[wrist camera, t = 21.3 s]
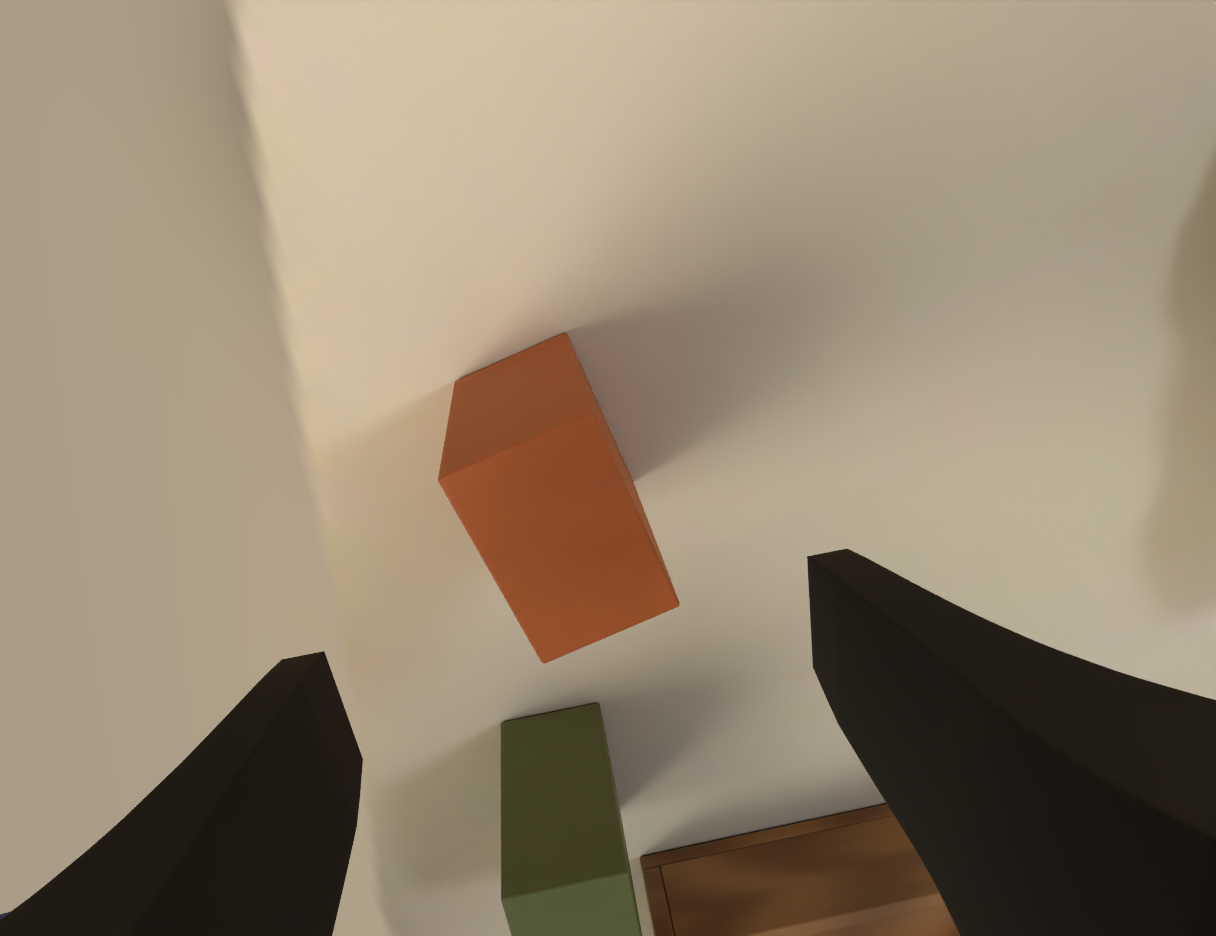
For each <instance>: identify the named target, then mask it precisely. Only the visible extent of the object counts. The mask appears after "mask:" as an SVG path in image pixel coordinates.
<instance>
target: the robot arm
mask: <svg viewBox="0 0 1216 936" xmlns="http://www.w3.org/2000/svg"><path fill="white" fill-rule="evenodd" d="M807 559H808V578H809V598H810V618H811V637H812V657H813V668H814V670H815V673H816V675H817V677H818V680H819V682H820V684H821V687H822V689H823V691H824V693H825V696H826V698H827V700H828V702H829V705H830V707H831V709H832V711H833V713H834V715H835V718H836V720H837V722H838V724H839V726H840V728H841V729H842V731H843V733H844V734H845V736H846V738H847V739H848V741H849V743H850V744H851V746H852V748H853V749H854V751H855V752H856V754H857V756H858V757H859V759H860V761H861V762H862V764H863V766H864V767H865V769H866V771H867V772H868V774H869V775H870V777H871V779H872V780H873V782H874V783H875V785H876V787H877V788H878V790H879V792H880V793H881V795H882V796H883V798H884V800H885V801H886V803H887V804H888V806H889V808H890V809H891V811H892V813H893V814H894V816H895V817H896V819H897V821H898V822H899V824H900V825H901V827H902V829H903V830H904V832H905V834H906V835H907V837H908V838H909V840H910V842H911V843H912V845H913V846H914V848H915V850H916V851H917V853H918V855H919V856H920V858H921V860H922V862H923V864H924V865H925V867H926V869H927V871H928V872H929V874H930V876H931V878H932V880H933V881H934V883H935V885H936V887H937V889H938V891H939V893H940V895H941V897H942V899H943V901H944V903H945V905H946V907H947V909H948V911H949V913H950V915H951V917H952V919H953V921H954V924H955V926H956V928H957V930H958V932H959V934H960V936H1216V700H1214V699H1209V698H1206V697H1202V696H1198V695H1195V694H1191V693H1188V692H1184V691H1181V690H1177V689H1174V688H1170V687H1167V686H1163V685H1160V684H1156V683H1153V682H1149V681H1146V680H1142V679H1139V678H1136V677H1133V676H1130V675H1127V674H1124V673H1121V672H1117V671H1114V670H1111V669H1108V668H1106V667H1103V666H1100V665H1097V664H1094V663H1092V662H1089V661H1086V660H1083V659H1081V658H1078V657H1075V656H1072V655H1070V654H1067V653H1064V652H1061V651H1059V650H1056V649H1053V648H1051V647H1048V646H1046V645H1043V644H1041V643H1038V642H1036V641H1034V640H1031V639H1029V638H1027V637H1024V636H1022V635H1020V634H1017V633H1015V632H1013V631H1011V630H1008V629H1006V628H1004V627H1002V626H999V625H997V624H995V623H993V622H990V621H988V620H986V619H984V618H982V617H980V616H978V615H976V614H973V613H971V612H969V611H967V610H965V609H963V608H961V607H959V606H957V605H955V604H953V603H951V602H949V601H947V600H945V599H943V598H941V597H939V596H937V595H935V594H933V593H931V592H929V591H927V590H926V589H924V588H922V587H920V586H918V585H916V584H914V583H912V582H910V581H909V580H907V579H905V578H903V577H901V576H899V575H897V574H895V573H894V572H892V571H890V570H888V569H886V568H884V567H882V566H880V565H879V564H877V563H875V562H873V561H871V560H869V559H867V558H865V557H863V556H861V555H859V554H857V553H855V552H853V551H851V550H849V549H843V550H838V551H833V552H828V553H823V554H818V555H813V556H807ZM362 762H363V758H362V756H361V753H360V750H359V747H358V744H357V742H356V739H355V736H354V733H353V731H352V728H351V725H350V722H349V719H348V717H347V714H346V711H345V708H344V705H343V703H342V700H341V697H340V694H339V691H338V689H337V686H336V683H335V680H334V678H333V675H332V672H331V669H330V666H329V664H328V661H327V658H326V655H325V652H319V653H313V654H308V655H303V656H298V657H293V658H288V659H283V660H281V661H280V662H279V663H278V664H277V665H276V666H275V667H274V668H272V669H271V670H270V671H269V672H268V673H267V674H266V675H265V676H264V677H263V678H262V679H261V680H260V681H259V682H258V683H257V685H255V687H254V688H253V689H252V690H251V691H250V692H249V693H248V694H247V695H246V696H245V697H244V698H243V699H242V700H241V701H240V702H239V704H238V705H236V707H235V708H234V709H233V710H232V711H231V712H230V713H229V714H228V715H227V716H226V717H225V718H224V719H223V720H222V721H221V722H220V723H219V724H218V725H217V727H216V728H215V729H214V730H213V731H212V732H211V733H210V734H209V735H208V736H207V737H206V738H205V739H204V740H203V741H202V742H201V743H200V744H199V745H198V746H197V747H196V749H194V750H193V751H192V753H191V754H190V755H189V756H188V757H187V758H186V759H185V760H184V761H183V762H182V763H181V764H180V765H179V766H178V767H177V768H175V769H174V770H173V771H172V773H170V774H169V775H168V776H167V777H166V778H165V779H164V780H163V781H162V782H161V783H160V784H159V785H158V786H157V787H156V788H155V789H154V790H153V791H152V792H150V794H148V795H147V797H145V798H144V799H143V800H142V801H141V802H140V803H139V804H138V805H137V806H136V807H135V808H134V809H133V810H132V811H131V812H130V813H129V814H128V815H127V816H126V817H125V818H123V819H122V820H121V821H120V822H119V823H118V824H117V825H116V826H115V827H114V828H112V829H111V830H110V831H109V832H108V833H107V834H106V835H105V836H103V837H102V838H101V839H100V840H99V841H98V842H97V843H96V844H94V845H93V846H92V847H91V848H90V849H89V850H87V851H86V852H85V853H84V854H83V855H81V856H80V857H79V858H78V859H77V860H75V861H74V862H73V863H72V864H71V865H69V866H68V867H67V868H66V869H64V870H63V871H62V872H61V873H60V874H58V875H57V876H56V877H55V878H54V879H52V880H51V881H50V882H49V883H48V884H47V885H45V886H44V887H43V888H41V889H40V890H39V891H38V892H36V893H35V894H34V895H33V896H31V897H30V898H29V899H27V900H26V901H25V902H23V903H22V904H21V905H19V906H18V907H17V908H15V909H14V910H13V911H11V912H10V913H9V914H7V915H6V916H5V917H3V918H2V919H0V936H332V933H333V929H334V924H335V920H336V916H337V912H338V907H339V903H340V899H341V894H342V890H343V886H344V881H345V877H346V873H347V868H348V864H349V859H350V855H351V850H352V846H353V841H354V836H355V831H356V827H357V818H358V809H359V799H360V788H361V775H362Z"/></svg>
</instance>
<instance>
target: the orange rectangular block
mask: <svg viewBox="0 0 1216 936" xmlns="http://www.w3.org/2000/svg"><path fill="white" fill-rule="evenodd" d="M438 481H439V483H440V485H441V486H442V488H443V490H444V492H445V493H446V495H447V497H448V499H449V500H450V502H451V504H452V506H453V507H454V509H455V511H456V513H457V514H458V516H459V518H460V520H461V522H462V523H463V525H464V527H465V529H466V530H467V532H468V534H469V536H470V537H471V539H472V541H473V543H474V544H475V546H476V548H477V550H478V551H479V553H480V555H481V557H482V558H483V560H484V562H485V564H486V565H487V567H488V569H489V571H490V572H491V574H492V576H493V578H494V579H495V581H496V583H497V585H498V587H499V588H500V590H501V592H502V594H503V595H504V597H505V599H506V601H507V602H508V604H509V606H510V608H511V609H512V611H513V613H514V615H515V616H516V618H517V620H518V622H519V623H520V625H521V627H522V629H523V630H524V632H525V634H526V636H527V637H528V639H529V641H530V643H531V645H532V646H533V648H534V650H535V652H536V653H537V655H538V657H539V659H540V660H541V662H542V663H547V662H549V661H552V660H554V659H556V658H559V657H561V656H563V655H566V654H568V653H570V652H573V651H575V650H577V649H580V648H582V647H584V646H587V645H589V644H592V643H594V642H596V641H599V640H601V639H603V638H606V637H608V636H610V635H613V634H615V633H617V632H620V631H622V630H624V629H627V628H629V627H631V626H634V625H636V624H639V623H641V622H643V621H646V620H648V619H650V618H653V617H655V616H657V615H660V614H662V613H664V612H667V611H669V610H671V609H674V608H676V607H678V606H679V600H678V598H677V595H676V593H675V590H674V587H673V585H672V582H671V579H670V577H669V574H668V572H667V569H666V566H665V564H664V561H663V559H662V556H661V553H660V551H659V548H658V545H657V543H656V540H655V538H654V535H653V532H652V530H651V527H650V525H649V522H648V519H647V517H646V514H645V512H644V509H643V506H642V504H641V501H640V498H639V496H638V493H637V491H636V488H635V485H634V483H633V480H632V478H631V476H630V474H629V472H628V469H627V467H626V465H625V463H624V460H623V458H622V456H621V454H620V451H619V449H618V447H617V445H616V442H615V440H614V438H613V436H612V434H611V431H610V429H609V427H608V425H607V422H606V420H605V418H604V416H603V413H602V411H601V409H600V407H599V405H598V402H597V400H596V398H595V396H594V393H593V391H592V389H591V387H590V384H589V382H588V380H587V378H586V375H585V373H584V371H583V369H582V367H581V364H580V362H579V360H578V358H577V355H576V353H575V351H574V349H573V346H572V344H571V342H570V340H569V338H568V335H567V334H566V333H562V334H560V335H558V336H556V337H553V338H551V339H549V340H547V341H544V342H542V343H540V344H538V345H535V346H533V347H531V348H529V349H526V350H524V351H522V352H520V353H517V354H515V355H513V356H511V357H508V358H506V359H504V360H502V361H499V362H497V363H495V364H493V365H490V366H488V367H486V368H484V369H481V370H479V371H477V372H475V373H472V374H470V375H468V376H466V377H463V378H461V379H459V380H457V381H455V384H454V390H453V396H452V402H451V408H450V413H449V419H448V425H447V431H446V437H445V443H444V448H443V454H442V460H441V466H440V472H439V478H438Z"/></svg>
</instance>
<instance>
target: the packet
mask: <svg viewBox="0 0 1216 936" xmlns="http://www.w3.org/2000/svg"><path fill="white" fill-rule="evenodd" d="M501 900H502V904H503V907H504V911H505V914H506V918H507V921H508V924H509V928H510V931H511V935H512V936H642V932H641V927H640V921H639V915H638V910H637V904H636V898H635V893H634V887H633V881H632V876H631V870H630V864H629V859H628V853H627V848H626V842H625V836H624V831H623V825H622V819H621V814H620V808H619V803H618V798H617V792H616V787H615V782H614V777H613V771H612V766H611V761H610V756H609V751H608V745H607V740H606V735H605V730H604V724H603V719H602V714H601V709H600V704H599V703H595V704H590V705H585V706H580V707H575V708H571V709H566V710H561V711H556V712H551V713H546V714H541V715H536V716H531V717H526V718H521V719H516V720H512V721H507V722H502V723H501Z"/></svg>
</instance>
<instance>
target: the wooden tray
mask: <svg viewBox="0 0 1216 936" xmlns="http://www.w3.org/2000/svg"><path fill="white" fill-rule="evenodd" d="M640 862H641V868H642V873H643V879H644V884H645V890H646V895H647V900H648V906H649V911H650V917H651V922H652V928H653V933H654V936H960V934H959V932H958V930H957V928H956V926H955V924H954V921H953V919H952V917H951V915H950V913H949V911H948V909H947V907H946V905H945V903H944V901H943V899H942V897H941V895H940V893H939V891H938V889H937V887H936V885H935V883H934V881H933V880H932V878H931V876H930V874H929V872H928V871H927V869H926V867H925V865H924V864H923V862H922V860H921V858H920V856H919V855H918V853H917V851H916V850H915V848H914V846H913V845H912V843H911V842H910V840H909V838H908V837H907V835H906V834H905V832H904V830H903V829H902V827H901V825H900V824H899V822H898V821H897V819H896V817H895V816H894V814H893V813H892V811H891V809H890V808H889V806H888V804H884V805H879V806H875V807H870V808H865V809H861V810H856V811H851V812H847V813H842V814H838V815H833V816H828V817H824V818H819V819H814V820H810V821H805V822H801V823H796V824H791V825H787V826H782V827H777V828H773V829H768V830H763V831H759V832H754V833H750V834H745V835H740V836H736V837H731V838H726V839H722V840H717V841H713V842H708V843H703V844H699V845H694V846H689V847H685V848H680V849H675V850H671V851H666V852H662V853H657V854H652V855H648V856H643V857H640Z"/></svg>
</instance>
